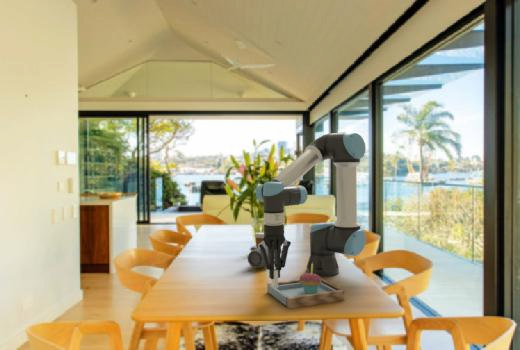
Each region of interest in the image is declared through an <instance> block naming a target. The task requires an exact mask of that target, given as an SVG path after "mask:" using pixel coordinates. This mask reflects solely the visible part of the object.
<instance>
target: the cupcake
mask: <svg viewBox="0 0 520 350" xmlns="http://www.w3.org/2000/svg"><path fill="white" fill-rule="evenodd" d="M312 272H313V262H312V264H311V273H308V272H306V273H303V274H302V275H300V276H299V277H298V278H299V279H298V280H299V281H300V283H301V284H302V285H303V288H304V292H305V293H309V294H314V293H316V292H317V290H318V287H319V285H320V284H321V278H322V277H321V276H319V275H317V274H313V273H312Z"/></svg>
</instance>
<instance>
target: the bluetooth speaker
mask: <svg viewBox="0 0 520 350" xmlns="http://www.w3.org/2000/svg"><path fill="white" fill-rule="evenodd" d="M265 250H266V254H267V258H268V247H267V246H266V245H265ZM281 253H282V250H281V251H280V256H281ZM247 255H248V256H247V262H248V264H249V266H250V267H252V268H256V269H257V268H265V267H264V264H263V260H262V256H261V252H260V249H259V247H258V248H257V247H256V248H255V249H253V250H251V251H250V252H249V253H248V254H247ZM274 261H275V252H274ZM268 262H269V259H268Z"/></svg>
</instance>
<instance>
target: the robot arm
mask: <svg viewBox="0 0 520 350" xmlns="http://www.w3.org/2000/svg"><path fill="white" fill-rule="evenodd" d="M366 150H367V149H366V142H365V140H364V138H363V136H362V135H361V134H360V133H359V132H356V131H344V132H343V131H342V132H334V133H332V132H329V133H326V134H323V135H321V136H319V137H318V138H316V139H314V140H313V141H312V142H311V143H309V144H308V145H306V147H305V148H304V151H303V152H302V153H301V154H300V155H299V156H297V157H296V158H295V159H294V161H291V163H290V164H289V165H288V166H286V167H285V168H284V169H283V170H282V171H280V172H279V173H278V174H277V175H276V176H274V178H272V180H270V181H267V182H264V183H263V184H260V185H258V186H257V187H256V189H255V197H256V199H257V200H258V201H260V202H262V204H263V223H264V224H263V232H264V238H263V241H262V242H261V243H260V244H259V243H258V244H257V246H258V247H259V249H260V252H261V256H262V260H263V264H264V267H263V268H264V269H266V270H268V272H269V273H268V277H269V279H270V280H271V282H270V283H272V287H273V288H278V282H279V279H280V278H281V270H282V269H283V268H285V266H286V263H287V258H288V253H289V248H290V246H291V244H292V243H291V241H289V240H287V239H286V237H285V224H284V223H285V207H289V206H299V205H302V204H303V205H304V204H305V203H306V201H308V191H307V189H306V187H305V186H303V185H298V184H296V183H297V182H298V181H299V180H300V179H301V178H303V177H304V175H306V174H307V173H308V172H309V171H310V170H311V169H312V168H313V167H314V166H315V165H319V164H321V163H322V162H323V161H325V160H332V164H333V165H334V166H335V167H336V168H335V169H336V221H335V222H334V221H332V222H330V221H328V222H317V223H313V224H311V225H310V231H309V246H310V247H309V251H310V252H309V253H310V254H309V257H308V261H307V264H306V267H305V269H306V270H305V271H306V273H311V264H312V262H313V272H312V273H313V274H317V275H318V276H320V277H322V276H323V277H329V276H335V275H338V274H339V273H340V268H339V267H340V266H339V263H338V261H337V257H336V254H341V255H345V256H347V257H348V256H351V257H356V256H358V255H360V254H361V253H362V252H363V250H364V248H365V246H366V243H367V235H366V233H365V231H364V230H363V229H361V223H360V222H359V221H358V219H357V218H358V217H357V216H358V214H357V213H358V209H357V206H358V205H357V204H358V203H357V202H358V201H357V199H358V198H357V194H358V192H357V167H358V166H359V165H360V163H361V159H362V158H363V157H364V156H365V153H366ZM265 245H266V246H267V247H268V258H267V254H266V250H265ZM280 251H281V255H280ZM274 252H275V260H274ZM268 259H269V262H268Z"/></svg>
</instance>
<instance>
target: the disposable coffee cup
mask: <svg viewBox="0 0 520 350" xmlns="http://www.w3.org/2000/svg"><path fill="white" fill-rule="evenodd" d="M254 238H255V247H256V248H258V246H257V244H258V243H259V244H260V243H261V242H262V241H263V238H264V231H256V232H255V233H254Z"/></svg>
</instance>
